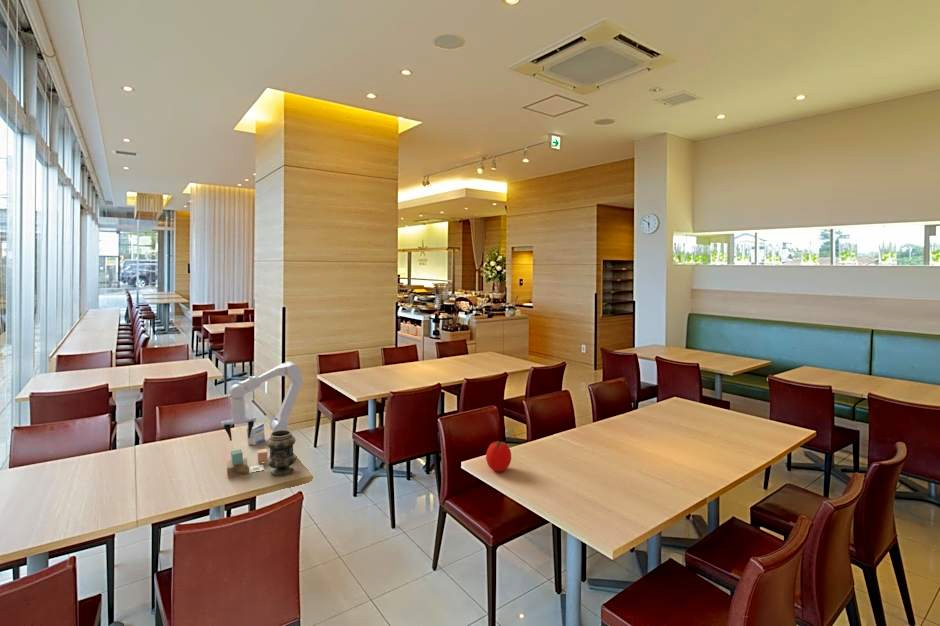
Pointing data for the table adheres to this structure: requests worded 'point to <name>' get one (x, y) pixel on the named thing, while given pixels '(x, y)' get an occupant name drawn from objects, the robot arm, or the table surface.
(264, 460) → the terracotta block
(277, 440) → the apothecary jar
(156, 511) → the table surface
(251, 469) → the card
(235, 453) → the teal block
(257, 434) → the medicine box
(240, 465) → the walnut block
